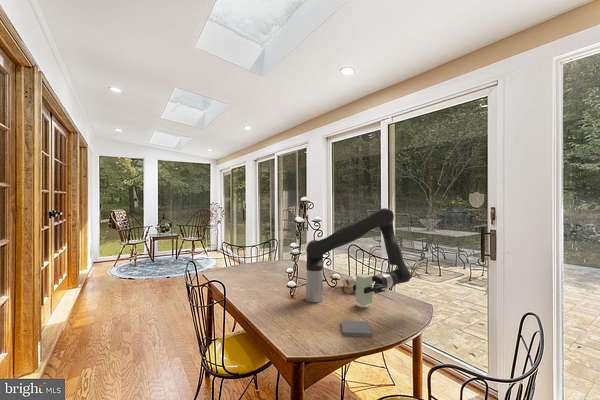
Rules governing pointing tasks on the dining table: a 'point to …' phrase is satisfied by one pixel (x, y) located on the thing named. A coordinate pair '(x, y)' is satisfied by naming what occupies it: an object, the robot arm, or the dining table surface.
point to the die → (352, 281)
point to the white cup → (362, 305)
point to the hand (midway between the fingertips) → (359, 289)
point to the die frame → (348, 287)
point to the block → (362, 283)
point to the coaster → (356, 328)
